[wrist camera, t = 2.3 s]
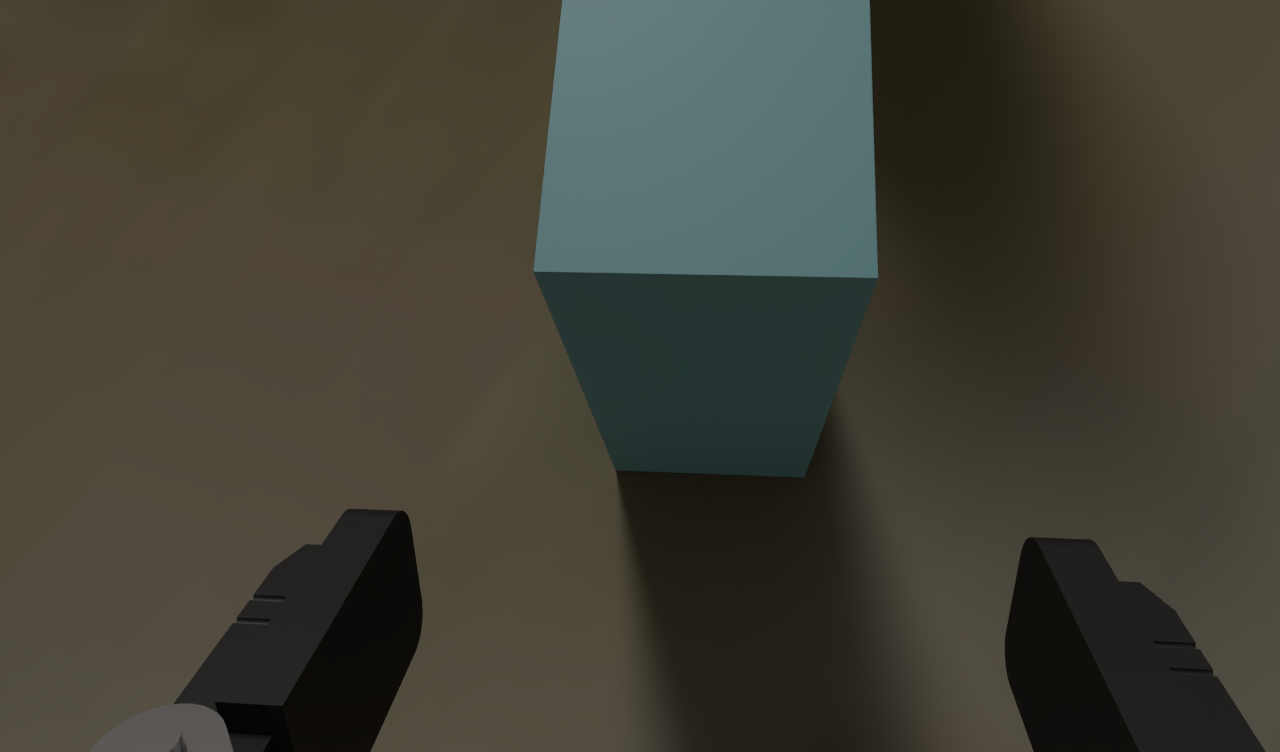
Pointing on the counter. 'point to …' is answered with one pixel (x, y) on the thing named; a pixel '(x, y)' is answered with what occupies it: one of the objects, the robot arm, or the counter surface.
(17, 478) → the counter surface
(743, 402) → the tea box
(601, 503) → the counter surface
